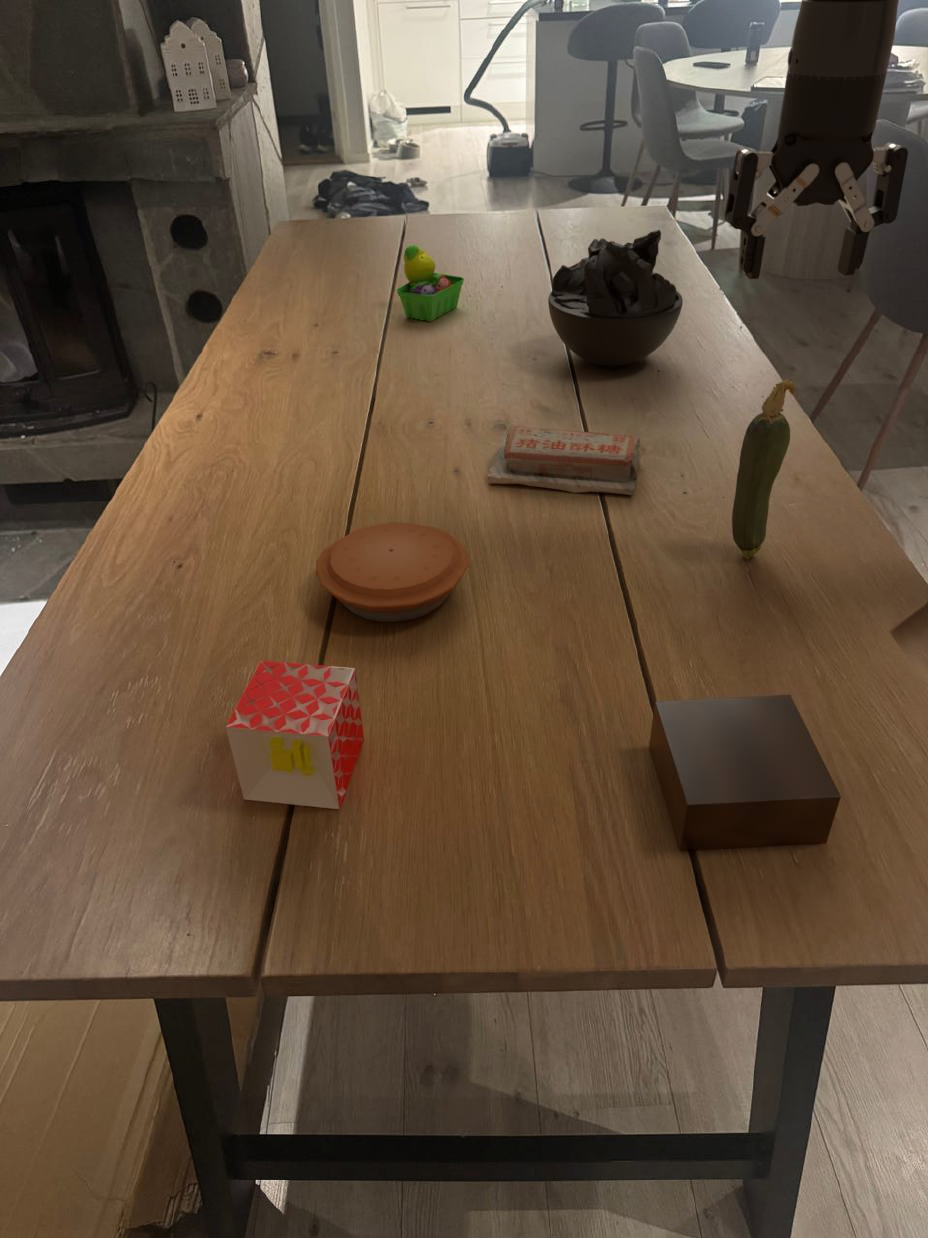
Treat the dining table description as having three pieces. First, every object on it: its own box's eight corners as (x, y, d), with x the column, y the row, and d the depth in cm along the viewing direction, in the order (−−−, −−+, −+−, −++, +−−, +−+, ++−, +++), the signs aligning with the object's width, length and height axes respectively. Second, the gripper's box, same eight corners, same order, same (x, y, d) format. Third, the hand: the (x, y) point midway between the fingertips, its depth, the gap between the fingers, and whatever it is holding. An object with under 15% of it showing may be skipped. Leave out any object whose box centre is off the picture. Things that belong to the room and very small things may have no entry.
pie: (500, 588, 96) (500, 548, 93) (386, 657, 88) (382, 614, 85) (402, 535, 105) (399, 496, 102) (290, 592, 97) (283, 552, 94)
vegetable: (716, 551, 101) (744, 375, 89) (741, 537, 103) (772, 363, 91) (750, 568, 98) (784, 388, 86) (775, 553, 100) (811, 375, 88)
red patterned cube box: (243, 799, 74) (225, 726, 69) (275, 731, 80) (260, 660, 75) (340, 809, 73) (329, 736, 68) (365, 739, 79) (355, 668, 74)
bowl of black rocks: (554, 389, 137) (558, 257, 126) (540, 340, 153) (543, 220, 142) (688, 383, 137) (704, 252, 126) (661, 336, 153) (673, 215, 142)
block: (779, 739, 77) (790, 694, 74) (826, 843, 69) (841, 796, 66) (648, 746, 77) (654, 701, 74) (679, 851, 68) (687, 805, 65)
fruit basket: (432, 325, 160) (429, 258, 154) (390, 317, 164) (385, 251, 158) (466, 306, 168) (465, 241, 161) (426, 299, 172) (422, 235, 165)
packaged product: (644, 425, 115) (637, 462, 108) (640, 460, 118) (633, 499, 110) (502, 414, 119) (486, 449, 111) (502, 449, 122) (486, 485, 114)
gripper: (762, 75, 70) (731, 291, 80) (947, 68, 71) (894, 284, 80) (735, 63, 76) (709, 266, 86) (905, 57, 77) (860, 260, 86)
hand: (798, 275), depth 83 cm, fingers open, 8 cm apart
